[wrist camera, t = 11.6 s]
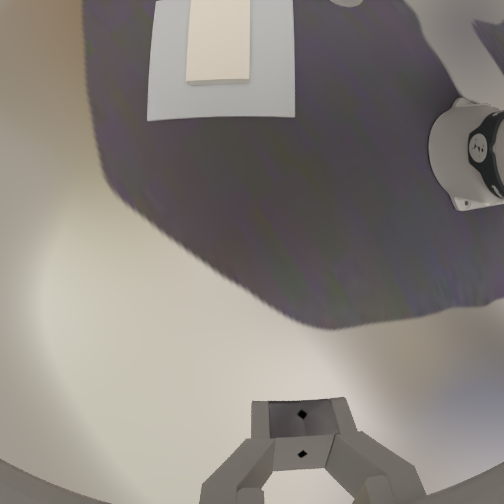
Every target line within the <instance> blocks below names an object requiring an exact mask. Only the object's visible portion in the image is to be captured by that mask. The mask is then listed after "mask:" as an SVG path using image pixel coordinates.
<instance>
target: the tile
mask: <svg viewBox="0 0 504 504" xmlns="http://www.w3.org/2000/svg"><path fill="white" fill-rule="evenodd" d="M250 2H251V0H191V6H190V18H189V31H188V47H187V65H186V82H187V83H188V84H189V85H190V86H192V85H210V84H250Z"/></svg>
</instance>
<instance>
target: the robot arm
mask: <svg viewBox="0 0 504 504" xmlns="http://www.w3.org/2000/svg"><path fill="white" fill-rule="evenodd" d="M429 158H430V163H431V167H432V170H433V172H434V175H435V177H436V178H437V180H438V182H439V183H440V185H441V186H442V187H443V188H444V189H445V190H446V191H447V192H448V194H449V195H450V198H451V200H452V203H453V205H454V207H455V209H456V210H458V211H466V210H471V209H477V208H483V207H489V206H494V205H500V204H504V110H503V111H499V109H498V108H495V107H491V105H490V104H474V103H472V102H470V101H468V100H467V99H465V98H457V99H456V100H455V102H454V103H453V105H452V107H451V109H449V110H448V111H446V112H445V113H443V114H442V115H440V116H439V117H438V118H437V120H436V121H435V123H434V125H433V127H432V129H431V132H430V137H429ZM465 201H466V204H465ZM251 413H252V414H251V439H246V440H245V441H244V442H243V443H242V444H241V445H240V446H239V447H238V448H237V449H236V450H235V452H234V453H233V454H232V455H231V456H230V457H229V458H228V459H227V460H226V461H225V462H224V463H223V464H222V465H221V466H220V467H219V468H218V469H217V470H216V471H215V472H214V473H213V474H212V475H211V476H210V477H209V478H208V479H207V480H206V481H205V482H204V483H203V484H202V489H201V495H200V502H199V504H264V491H262V490H261V488H262V486H263V485H264V484H265V482H266V481H267V480H268V478H269V477H270V475H271V474H272V471H284V470H296V469H315V468H325V469H326V470H327V471H328V472H329V473H330V475H331V476H332V477H333V478H334V479H335V480H337V482H338V483H339V484H340V485H341V486H342V487H343V488H344V489H346V491H347V492H348V493H350V494H351V495H352V496H353V497H354V498H355V500H354V501H353V503H352V504H504V462H503V463H501V464H499V465H497V466H495V467H493V468H491V469H489V470H487V471H485V472H483V473H481V474H479V475H477V476H474V477H472V478H470V479H468V480H466V481H463V482H461V483H458V484H456V485H454V486H451V487H448V488H446V489H443V490H441V491H438V492H435V493H432V494H430V495H426V493H425V490H424V488H423V486H422V483H421V481H420V478H419V476H418V474H417V471H416V469H415V467H414V466H413V465H412V464H410V463H409V462H407V461H406V460H404V459H402V458H401V457H399V456H398V455H396V454H395V453H393V452H392V451H390V450H389V449H387V448H386V447H384V446H383V445H381V444H380V443H378V442H377V441H375V440H374V439H372V438H371V437H369V436H368V435H367V434H365V433H364V432H362V431H361V432H358V431H357V428H356V426H355V423H354V420H353V417H352V415H351V411H350V409H349V406H348V403H347V400H346V398H344V397H340V398H331V399H319V400H303V401H252V410H251ZM0 504H110V503H107V502H103V501H100V500H97V499H93V498H90V497H87V496H84V495H81V494H78V493H75V492H73V491H70V490H67V489H65V488H62V487H59V486H57V485H54V484H52V483H49V482H47V481H45V480H42V479H40V478H38V477H36V476H33V475H31V474H29V473H27V472H25V471H23V470H21V469H19V468H17V467H15V466H13V465H11V464H9V463H7V462H5V461H4V460H2V459H0Z"/></svg>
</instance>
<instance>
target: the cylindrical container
mask: <svg viewBox="0 0 504 504" xmlns="http://www.w3.org/2000/svg"><path fill="white" fill-rule="evenodd" d="M330 1H331V2H333V3H335V4H337V5H340V6H344V7H355V6H358V5H360V4H361V3H362V2H363V0H330Z"/></svg>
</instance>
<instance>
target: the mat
mask: <svg viewBox="0 0 504 504" xmlns="http://www.w3.org/2000/svg"><path fill="white" fill-rule="evenodd" d="M190 6H191V0H162V1H156V7H155V15H154V23H153V33H152V43H151V55H150V68H149V85H148V110H147V121H149V122H150V121H161V120H174V119H189V118H210V117H282V118H295V63H294V24H293V0H251V2H250V84H210V85H192V86H190V85H189V84H188V83H187V82H186V65H187V47H188V31H189V18H190Z"/></svg>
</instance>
